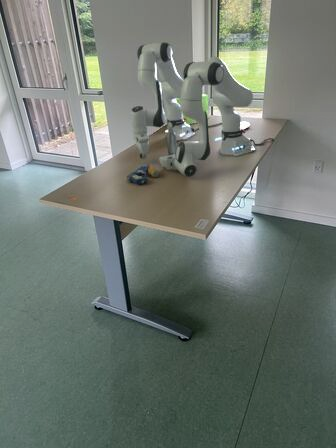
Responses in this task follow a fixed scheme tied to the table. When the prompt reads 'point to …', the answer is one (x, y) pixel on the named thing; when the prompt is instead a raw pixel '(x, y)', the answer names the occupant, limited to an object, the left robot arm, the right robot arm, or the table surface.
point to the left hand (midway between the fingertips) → (143, 157)
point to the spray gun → (142, 174)
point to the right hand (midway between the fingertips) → (172, 154)
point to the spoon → (244, 125)
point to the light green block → (204, 105)
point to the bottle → (171, 141)
